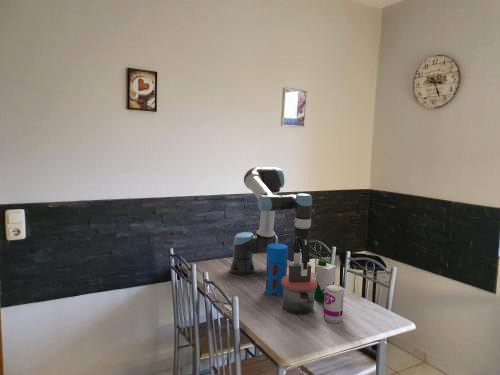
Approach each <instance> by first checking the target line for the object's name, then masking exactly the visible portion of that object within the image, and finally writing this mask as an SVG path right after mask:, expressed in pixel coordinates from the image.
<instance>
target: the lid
mask: <svg viewBox="0 0 500 375" xmlns="http://www.w3.org/2000/svg"><path fill="white" fill-rule="evenodd" d="M301 264H302V263H299V264H294V263H289V264H288V275H287V276H285V277H283V278H282V280H281V284H282V285H283V286H284V287H285V288H288V289H291V290H295V291H311V290H314V289H316V288H317V281H316V278H314V277H311V276H312V272H311V271H312V265H311V263H308V268H307V276H301Z"/></svg>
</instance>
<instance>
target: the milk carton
mask: <svg viewBox="0 0 500 375" xmlns="http://www.w3.org/2000/svg"><path fill="white" fill-rule="evenodd" d="M314 267H315V268H314V269H315V280H316V281H317V288H316V289H315V296H314V301H315V300H316V301H318V302H321V303H323V304H324V301H325V289H326V287H327V286H328V285H335V278H336V276H335V275H336V269H337V266H336V265H333V264H331V263H327V260H326V259H318V261H317V264H314Z"/></svg>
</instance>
